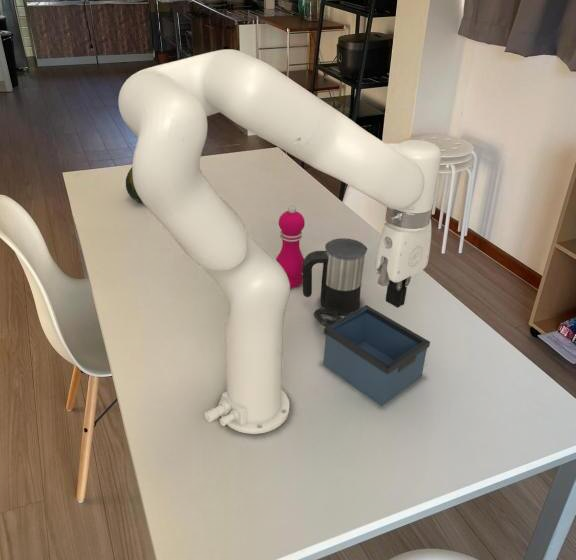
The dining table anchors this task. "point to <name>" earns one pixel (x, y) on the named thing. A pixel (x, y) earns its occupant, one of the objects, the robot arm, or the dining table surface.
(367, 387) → the blue storage bin
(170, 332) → the dining table surface
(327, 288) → the milk frother
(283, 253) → the pepper mill
